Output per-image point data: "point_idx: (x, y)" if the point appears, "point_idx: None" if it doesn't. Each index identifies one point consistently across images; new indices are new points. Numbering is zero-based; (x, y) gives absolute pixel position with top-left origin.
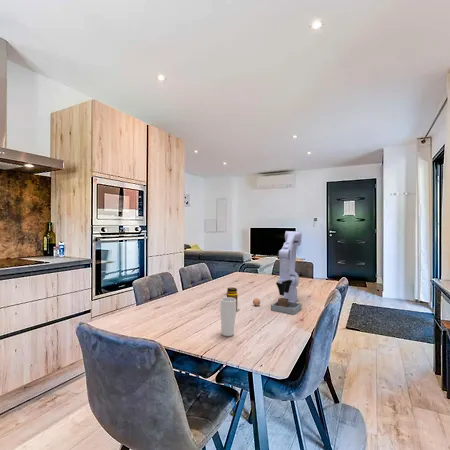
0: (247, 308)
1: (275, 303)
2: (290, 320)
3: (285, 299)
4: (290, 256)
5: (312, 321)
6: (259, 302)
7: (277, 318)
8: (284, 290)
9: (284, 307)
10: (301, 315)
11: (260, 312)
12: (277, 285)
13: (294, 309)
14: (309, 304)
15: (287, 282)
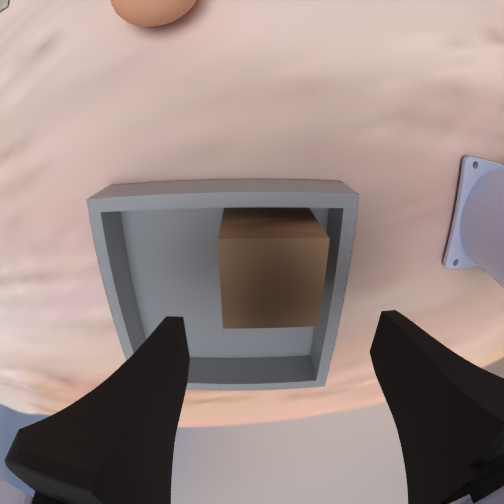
0: (47, 13)
1: (177, 208)
2: (58, 356)
3: (270, 312)
4: None
5: None
6: (142, 24)
7: (23, 295)
8: (174, 428)
9: (118, 327)
10: None
11: (22, 148)
12: (50, 426)
13: None
14: None
15: (434, 471)
